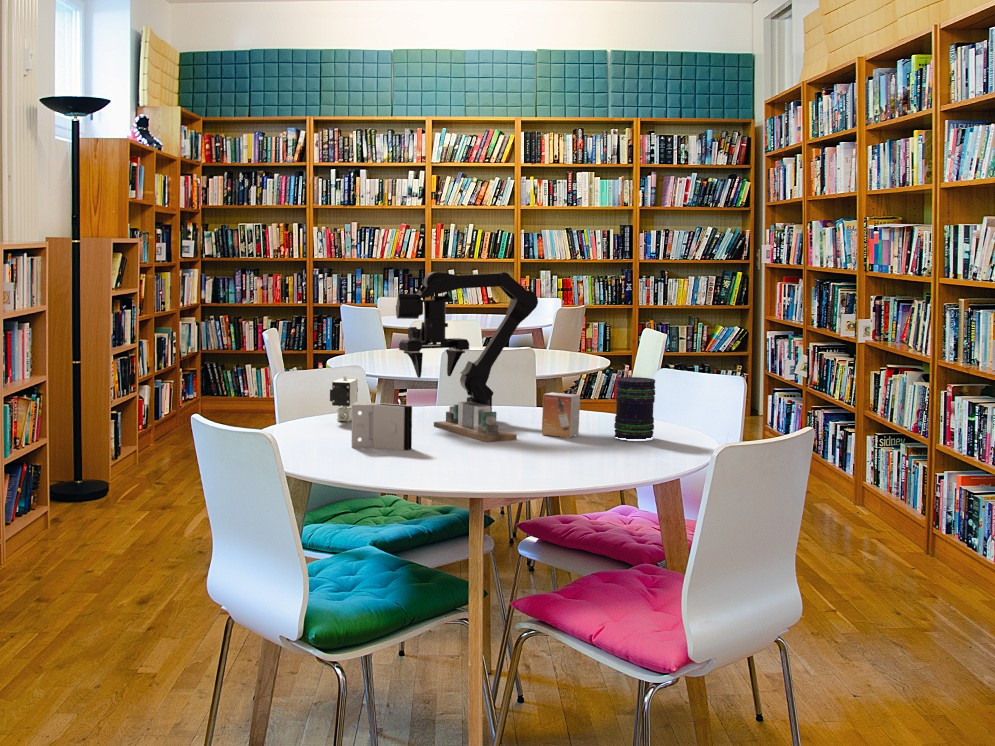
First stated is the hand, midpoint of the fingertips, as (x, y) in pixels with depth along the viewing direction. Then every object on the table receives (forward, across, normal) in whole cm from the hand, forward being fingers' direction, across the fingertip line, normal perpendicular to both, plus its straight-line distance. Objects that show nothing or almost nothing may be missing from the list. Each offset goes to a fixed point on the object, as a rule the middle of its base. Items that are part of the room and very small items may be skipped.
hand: (434, 376), depth 288 cm
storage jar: (+12, -32, +46) cm, 57 cm away
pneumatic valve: (+12, +22, -10) cm, 27 cm away
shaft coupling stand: (+12, 0, +22) cm, 25 cm away
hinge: (+12, +30, +31) cm, 45 cm away
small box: (+12, -18, +34) cm, 40 cm away
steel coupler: (+11, 0, +22) cm, 24 cm away
